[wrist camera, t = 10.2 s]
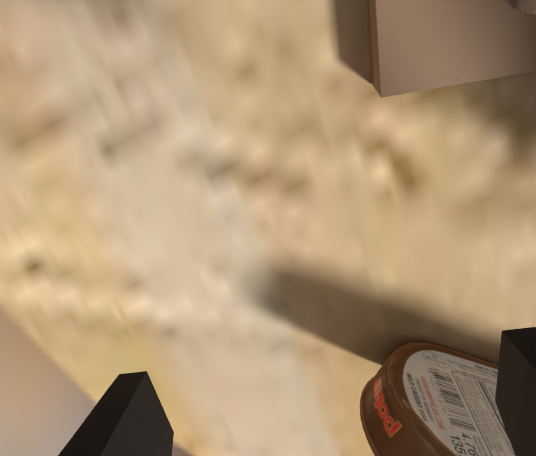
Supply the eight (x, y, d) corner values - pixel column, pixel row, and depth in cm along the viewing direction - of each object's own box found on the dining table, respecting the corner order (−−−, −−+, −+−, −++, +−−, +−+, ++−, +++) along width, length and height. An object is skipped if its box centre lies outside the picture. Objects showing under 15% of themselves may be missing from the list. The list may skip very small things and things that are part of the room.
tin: (345, 354, 24) (375, 532, 17) (376, 310, 22) (423, 485, 15) (584, 430, 27) (697, 611, 20) (625, 396, 25) (765, 578, 18)
